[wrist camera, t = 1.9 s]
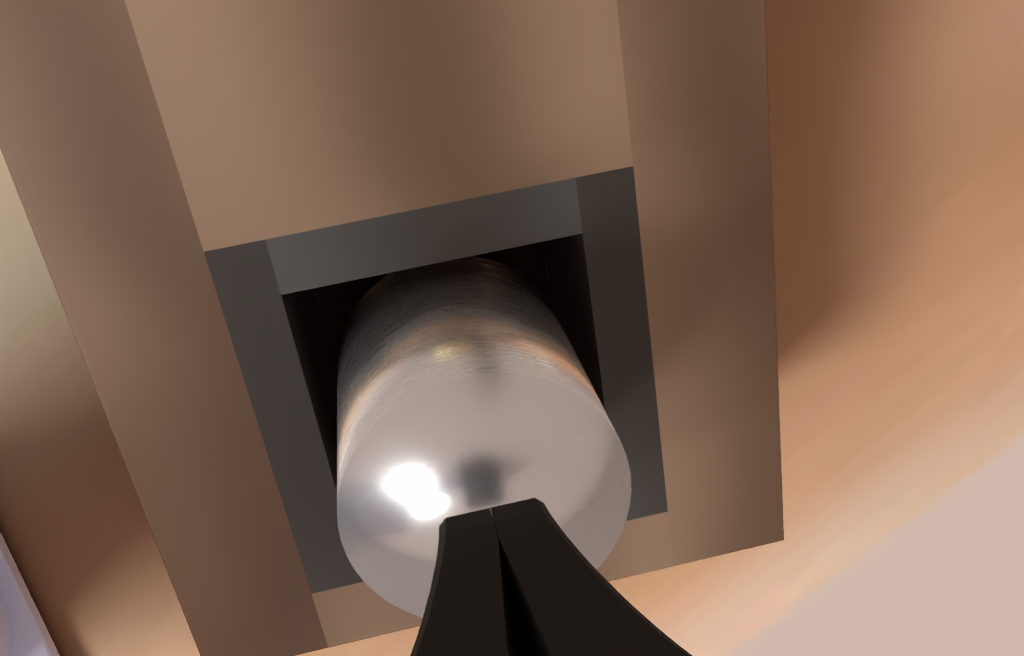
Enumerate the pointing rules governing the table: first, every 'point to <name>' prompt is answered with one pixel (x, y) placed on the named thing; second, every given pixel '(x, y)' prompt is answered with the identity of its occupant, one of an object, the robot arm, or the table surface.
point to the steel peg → (464, 422)
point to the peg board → (395, 253)
